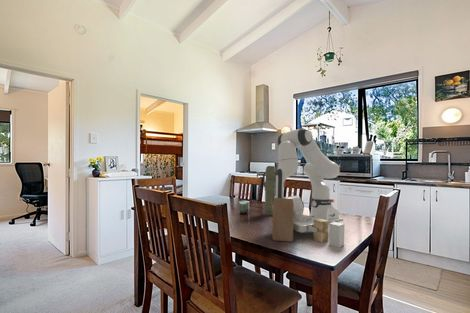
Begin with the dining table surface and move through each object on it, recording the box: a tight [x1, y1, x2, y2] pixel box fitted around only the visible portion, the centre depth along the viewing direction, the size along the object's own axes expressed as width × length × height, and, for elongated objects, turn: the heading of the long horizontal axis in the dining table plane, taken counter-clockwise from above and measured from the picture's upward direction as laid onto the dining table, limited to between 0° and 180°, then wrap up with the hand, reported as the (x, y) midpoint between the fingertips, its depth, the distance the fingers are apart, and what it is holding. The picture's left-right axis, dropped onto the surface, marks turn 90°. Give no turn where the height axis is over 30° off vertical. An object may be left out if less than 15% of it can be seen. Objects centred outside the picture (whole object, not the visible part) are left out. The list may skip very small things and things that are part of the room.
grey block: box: [328, 221, 345, 248], centre depth 121 cm, size 5×5×10 cm
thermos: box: [262, 165, 277, 217], centre depth 184 cm, size 9×12×35 cm
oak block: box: [313, 219, 329, 243], centre depth 127 cm, size 5×5×10 cm
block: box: [272, 198, 294, 243], centre depth 129 cm, size 10×10×20 cm
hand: (322, 229), depth 126 cm, fingers closed on oak block, 5 cm apart
